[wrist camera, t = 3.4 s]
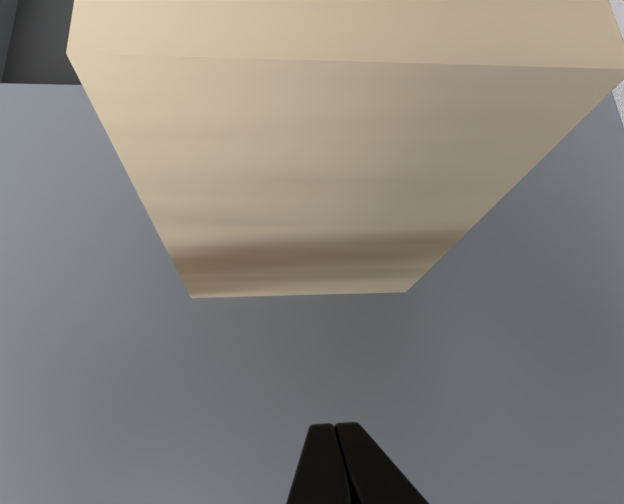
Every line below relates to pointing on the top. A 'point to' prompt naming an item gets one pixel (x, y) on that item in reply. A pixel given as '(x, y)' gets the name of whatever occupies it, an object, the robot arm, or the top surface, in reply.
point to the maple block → (333, 125)
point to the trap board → (294, 330)
